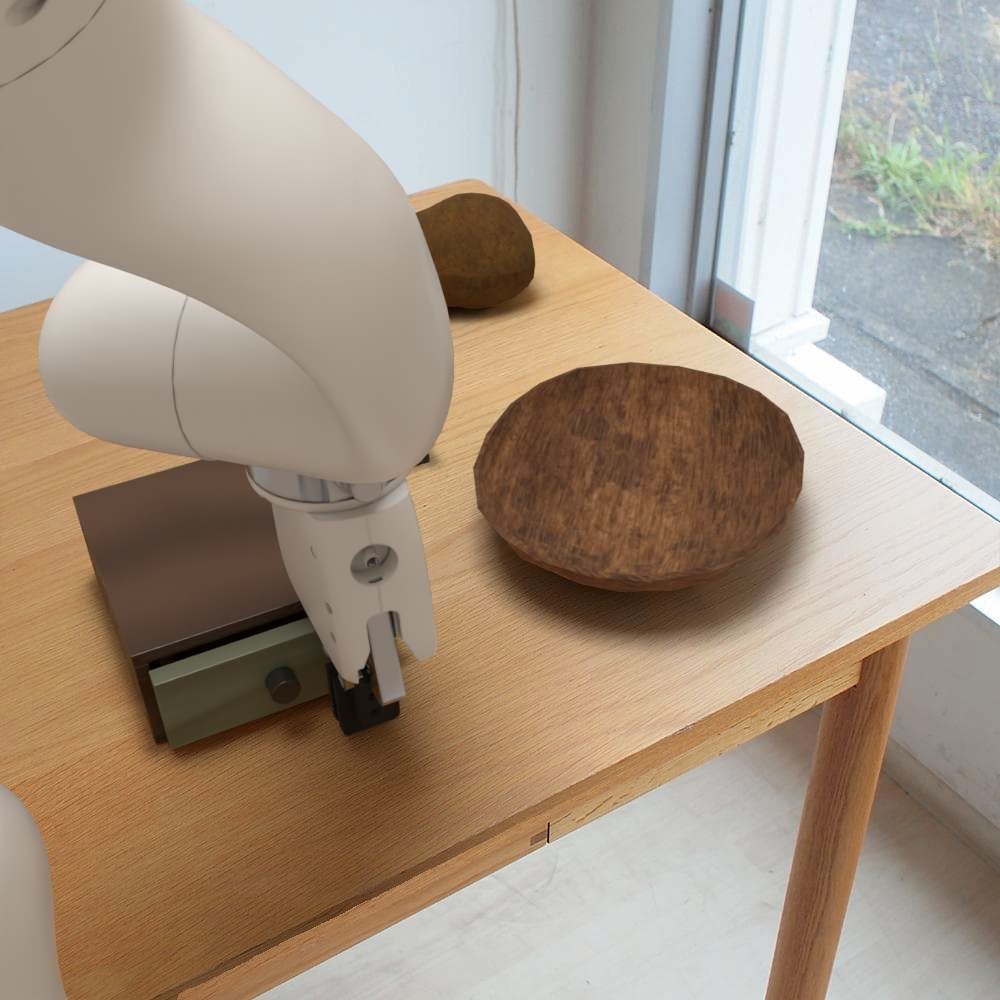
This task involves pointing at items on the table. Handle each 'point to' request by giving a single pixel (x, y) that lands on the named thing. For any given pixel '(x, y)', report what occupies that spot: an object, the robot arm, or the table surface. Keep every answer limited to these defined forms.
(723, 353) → the table surface
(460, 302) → the potato
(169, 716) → the drawer
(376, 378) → the robot arm
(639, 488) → the bowl
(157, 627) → the cabinet
